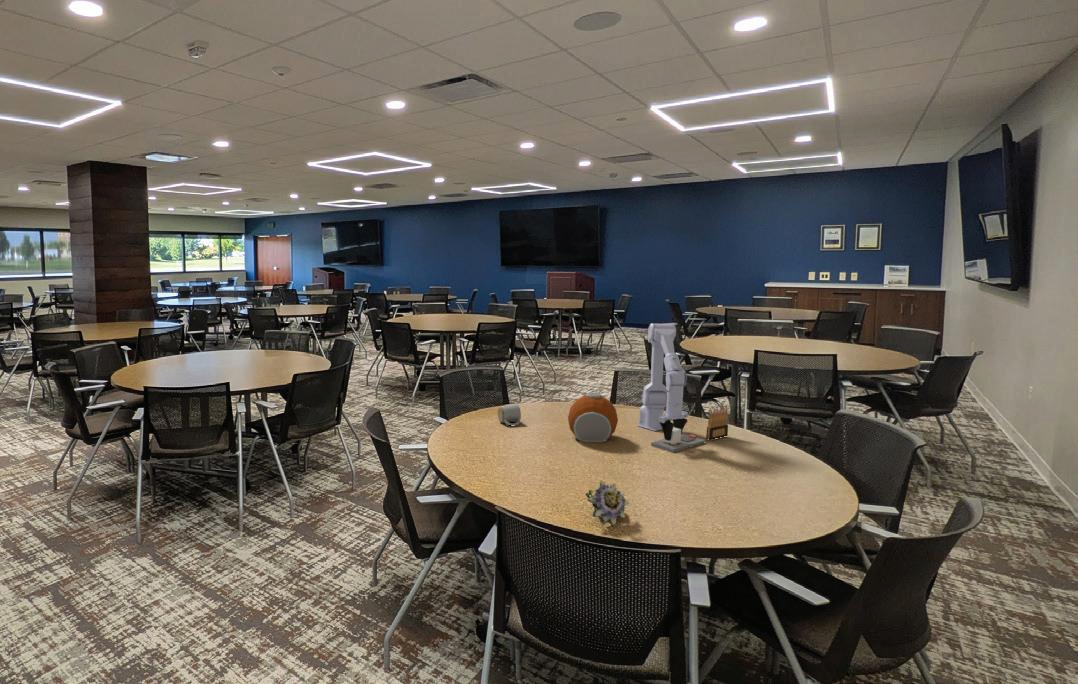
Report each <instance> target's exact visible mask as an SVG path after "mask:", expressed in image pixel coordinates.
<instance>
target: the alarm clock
mask: <svg viewBox="0 0 1078 684" xmlns="http://www.w3.org/2000/svg"><path fill="white" fill-rule="evenodd" d="M567 421H568V426H569V427H568V428H569V429H570V431H571V433H572V434H573V435H574V437H575V438H576V439H577V440H578V441H581V442H593V443H594V442H595V443H603V442H607V441H608V440H609V439H610V437H612V436H613V434H614V433H615V432H616V428H617V425H618V421H619V420H618V412H617V409H616V408H615V406H614V405H613V402H611V401H610V400H609V399H608V398H606V397H605V396H603V395H602V394H601V393H599V392H587V393H586V394H585V395H583V396H580V397H579V398H577V399H576V400H575V401H574V403H573V404H572V405H571V406H570V408H569V411H568V416H567Z"/></svg>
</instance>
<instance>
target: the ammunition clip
mask: <svg viewBox="0 0 1078 684" xmlns="http://www.w3.org/2000/svg"><path fill="white" fill-rule="evenodd" d="M728 432H729V424H728V408H727V406H726V407H725V408H724V407H722V409H721V408H719V409H718V408H716V410H715V409H713V410H712V409H710V411H709V415H708V423H707V426H706V436H705V440H706V439H709V440H711V439H715V438H720V437H724V436H728V434H729V433H728ZM709 440H708V441H709Z"/></svg>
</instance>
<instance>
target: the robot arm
mask: <svg viewBox="0 0 1078 684" xmlns="http://www.w3.org/2000/svg"><path fill="white" fill-rule="evenodd" d="M647 330H648V331H647V341H648V343H650V344H651V361H650V364H651V366H650V367H651V368H650V382H648V383H647V384H646V385H645V386H643V388H642V389H643V390H642V396H641V400H642V404H643V405H642V406H641V407H640V409H639V416H638V417H639V419H638V424H637V427H641V428H644V429H646V430H651V431H654V432H657V431H661V430H662V432H663V438H664V437H665V440H668V441H670V440H671V435H672V430H673V427H675V428H678V429H681V434H683V430H684V428H685V426H686V424H687V423H688V417H689V412H687V411H684V410H683V401H684V387H685V386H686V385H687V382H688V380H687V379H688V378H687V373H686V371H685V370H684V368H682V364H681V361H680V357H679V356H678V354H676V353H675V346H674V340H675V338H676V335H677V328H676V325H675V324H674V323H652V322H651V323H650V324H649V326H648V329H647ZM664 368H665V373H666V374H665V384H663V380H664V379H663V376H664V375H663V374H664ZM664 408H666V409H664ZM664 411H665V413H664Z"/></svg>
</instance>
